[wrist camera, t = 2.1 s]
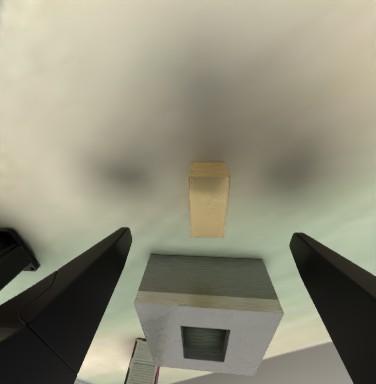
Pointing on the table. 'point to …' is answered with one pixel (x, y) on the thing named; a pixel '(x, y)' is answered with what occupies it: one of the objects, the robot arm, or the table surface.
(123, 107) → the table surface
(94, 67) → the table surface
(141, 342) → the candy bar box
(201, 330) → the money box
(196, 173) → the tan wooden post
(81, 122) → the table surface
